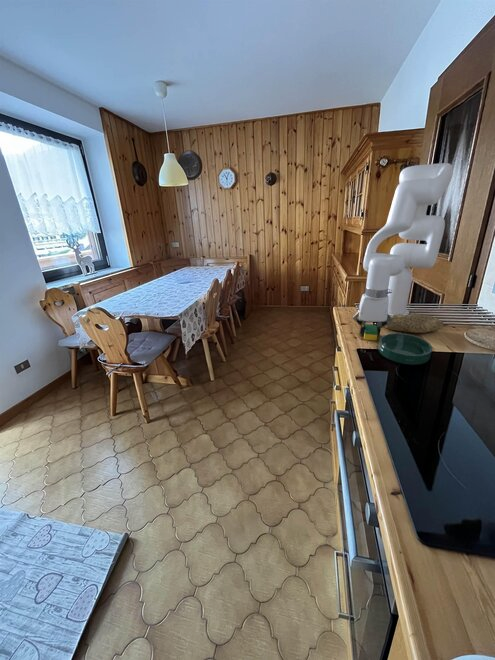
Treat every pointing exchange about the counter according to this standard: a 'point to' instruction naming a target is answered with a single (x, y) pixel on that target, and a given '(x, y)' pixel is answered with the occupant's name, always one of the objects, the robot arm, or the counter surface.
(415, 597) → the counter surface
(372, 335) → the small sponge
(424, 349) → the bowl
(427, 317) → the sponge
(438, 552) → the counter surface
